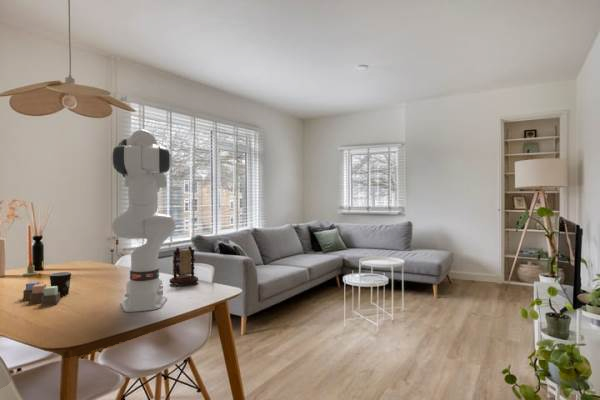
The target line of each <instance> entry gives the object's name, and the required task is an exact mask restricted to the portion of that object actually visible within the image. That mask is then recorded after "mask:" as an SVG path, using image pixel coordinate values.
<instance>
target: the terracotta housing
mask: <svg viewBox="0 0 600 400" xmlns="http://www.w3.org/2000/svg"><path fill="white" fill-rule="evenodd" d="M43 295H44V293H34V294H32V293H31V294H30V299H29V304H34V303H33V302H39V303H42V296H43Z"/></svg>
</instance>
